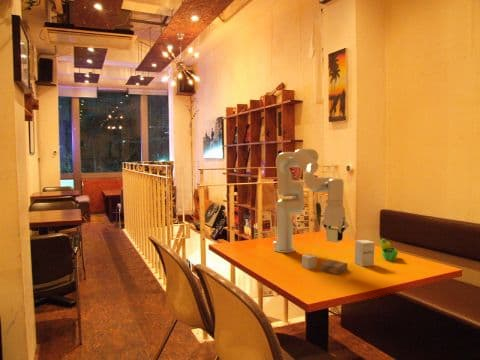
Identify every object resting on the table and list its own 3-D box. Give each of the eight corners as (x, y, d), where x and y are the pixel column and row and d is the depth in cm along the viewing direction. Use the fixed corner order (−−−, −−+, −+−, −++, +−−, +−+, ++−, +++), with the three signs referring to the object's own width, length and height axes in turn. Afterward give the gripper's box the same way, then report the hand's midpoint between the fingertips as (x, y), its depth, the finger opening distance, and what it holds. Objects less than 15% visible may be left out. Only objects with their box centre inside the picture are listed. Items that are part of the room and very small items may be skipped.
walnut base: (320, 271, 191) (320, 263, 191) (329, 267, 199) (329, 259, 199) (338, 275, 185) (338, 267, 185) (347, 270, 193) (347, 263, 192)
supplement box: (362, 267, 198) (362, 243, 197) (354, 263, 205) (354, 240, 204) (374, 266, 200) (375, 242, 199) (366, 262, 207) (366, 239, 206)
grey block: (301, 266, 199) (302, 255, 198) (310, 265, 201) (310, 254, 201) (308, 269, 194) (308, 257, 193) (316, 268, 196) (317, 256, 196)
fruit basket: (398, 261, 208) (399, 241, 208) (381, 260, 210) (381, 240, 209) (394, 256, 220) (394, 237, 219) (378, 255, 221) (378, 236, 221)
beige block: (326, 240, 191) (327, 228, 190) (332, 239, 195) (332, 227, 194) (336, 242, 187) (336, 230, 187) (342, 240, 191) (342, 229, 190)
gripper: (316, 202, 193) (315, 237, 194) (347, 205, 181) (346, 243, 182) (324, 201, 198) (323, 235, 199) (354, 204, 186) (353, 240, 187)
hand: (334, 238), depth 191 cm, fingers closed on beige block, 5 cm apart
